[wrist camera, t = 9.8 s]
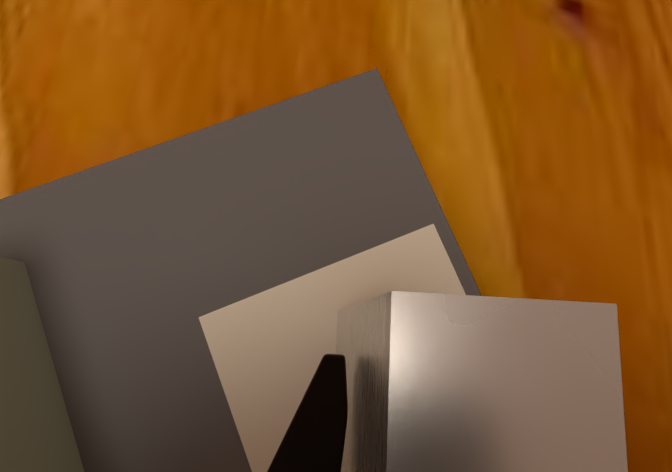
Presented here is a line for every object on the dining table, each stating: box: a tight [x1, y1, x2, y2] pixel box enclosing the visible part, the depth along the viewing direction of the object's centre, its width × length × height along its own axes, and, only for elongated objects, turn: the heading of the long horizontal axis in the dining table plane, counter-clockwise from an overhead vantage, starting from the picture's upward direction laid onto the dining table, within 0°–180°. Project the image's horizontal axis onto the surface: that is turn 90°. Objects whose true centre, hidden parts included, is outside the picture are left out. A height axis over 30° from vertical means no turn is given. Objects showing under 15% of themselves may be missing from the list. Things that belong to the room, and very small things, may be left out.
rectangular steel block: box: [336, 291, 628, 472], centre depth 10 cm, size 5×2×11 cm, turn 177°
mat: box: [0, 68, 481, 472], centre depth 15 cm, size 16×25×1 cm, turn 112°
